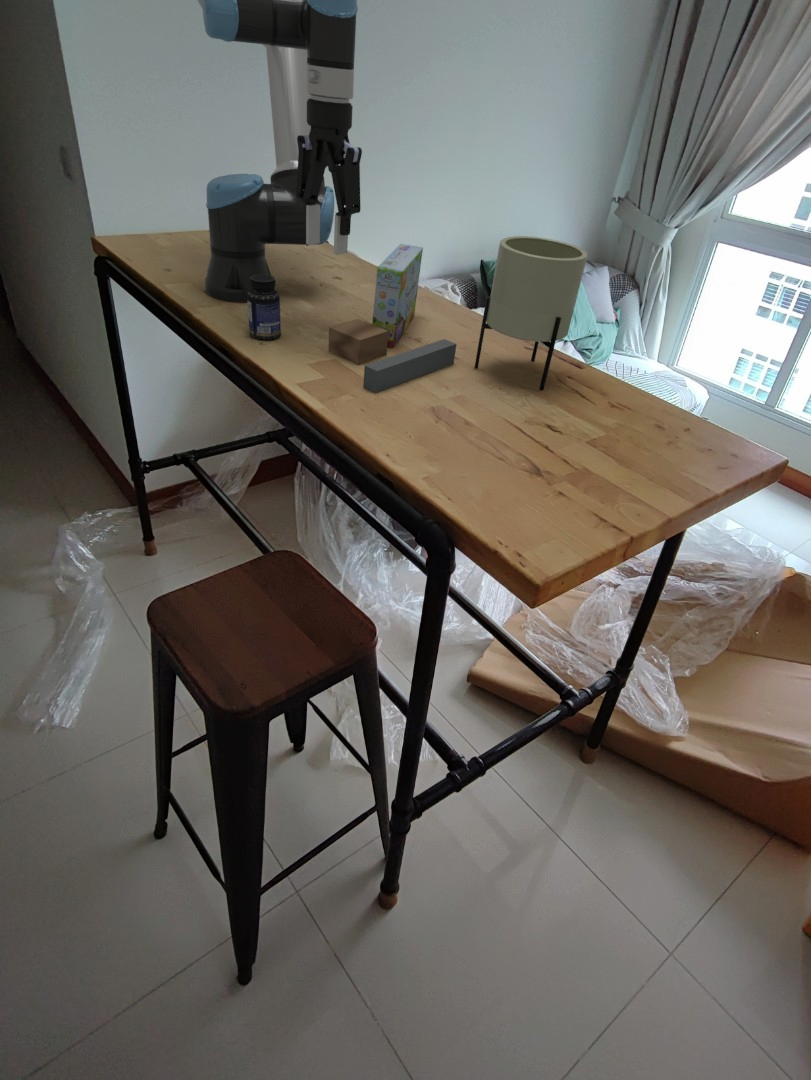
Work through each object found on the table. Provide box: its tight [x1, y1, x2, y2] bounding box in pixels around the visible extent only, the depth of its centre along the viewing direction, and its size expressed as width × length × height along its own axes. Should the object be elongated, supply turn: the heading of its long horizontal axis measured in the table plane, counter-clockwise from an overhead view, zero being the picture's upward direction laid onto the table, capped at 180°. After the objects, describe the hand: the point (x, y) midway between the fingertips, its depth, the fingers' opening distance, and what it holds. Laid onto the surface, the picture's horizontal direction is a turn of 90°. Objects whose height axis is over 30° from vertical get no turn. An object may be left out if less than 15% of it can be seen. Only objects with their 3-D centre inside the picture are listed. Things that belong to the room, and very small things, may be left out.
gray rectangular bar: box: [362, 338, 457, 393], centre depth 118 cm, size 3×22×4 cm, turn 138°
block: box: [327, 318, 388, 366], centre depth 124 cm, size 8×8×5 cm
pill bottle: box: [247, 275, 282, 341], centre depth 124 cm, size 6×6×11 cm
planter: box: [474, 235, 588, 392], centre depth 118 cm, size 15×16×23 cm
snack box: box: [371, 243, 424, 348], centre depth 133 cm, size 21×6×15 cm, turn 168°
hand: (326, 248), depth 119 cm, fingers open, 7 cm apart
